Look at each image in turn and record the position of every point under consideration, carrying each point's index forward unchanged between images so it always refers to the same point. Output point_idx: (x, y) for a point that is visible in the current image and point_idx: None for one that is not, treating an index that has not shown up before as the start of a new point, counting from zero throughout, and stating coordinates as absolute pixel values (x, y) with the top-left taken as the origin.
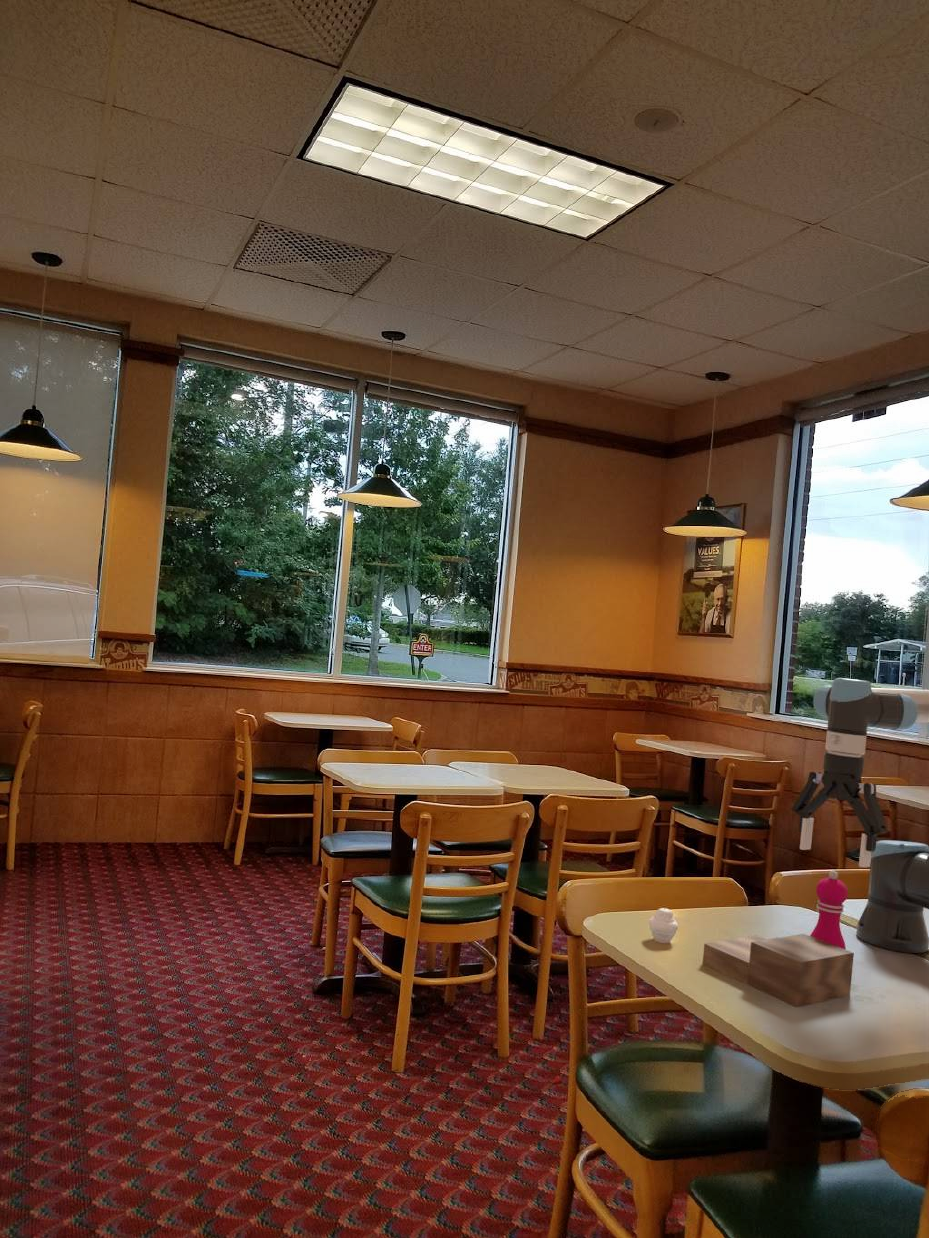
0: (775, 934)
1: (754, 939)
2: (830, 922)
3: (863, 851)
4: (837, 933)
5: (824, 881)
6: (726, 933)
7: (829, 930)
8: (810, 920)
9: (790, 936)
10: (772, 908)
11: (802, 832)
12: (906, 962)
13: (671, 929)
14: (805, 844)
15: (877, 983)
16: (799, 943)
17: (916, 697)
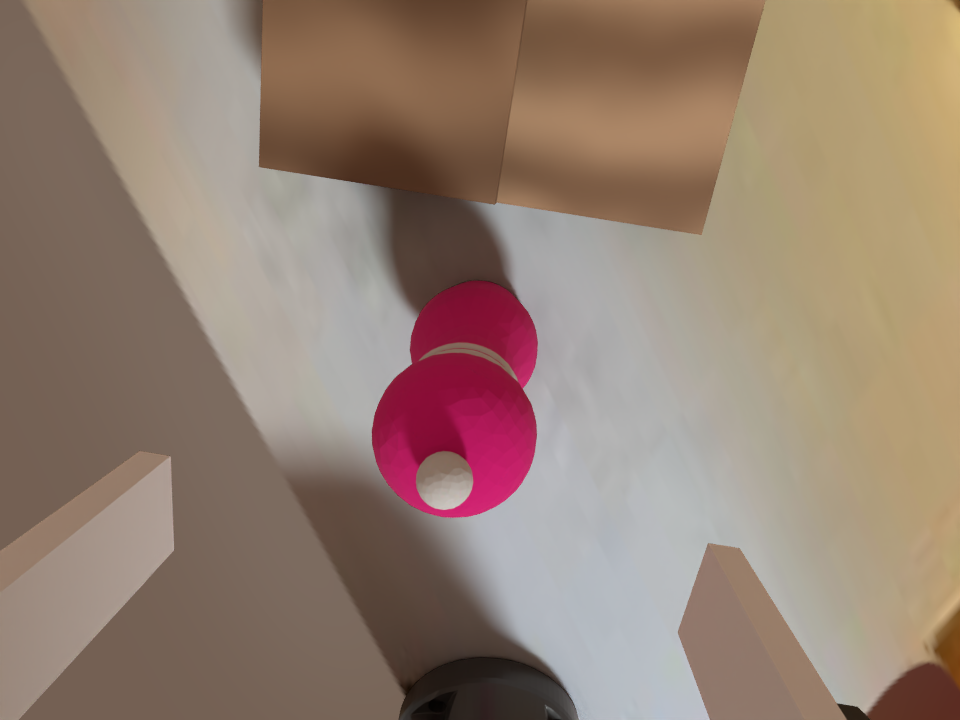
0: (725, 492)
1: (684, 175)
2: (442, 345)
3: (29, 531)
4: (422, 350)
5: (475, 410)
6: (844, 343)
7: (445, 332)
8: None
9: (504, 94)
10: None
11: (805, 676)
12: (386, 607)
13: None
14: (715, 603)
15: (335, 363)
16: (430, 30)
17: None
